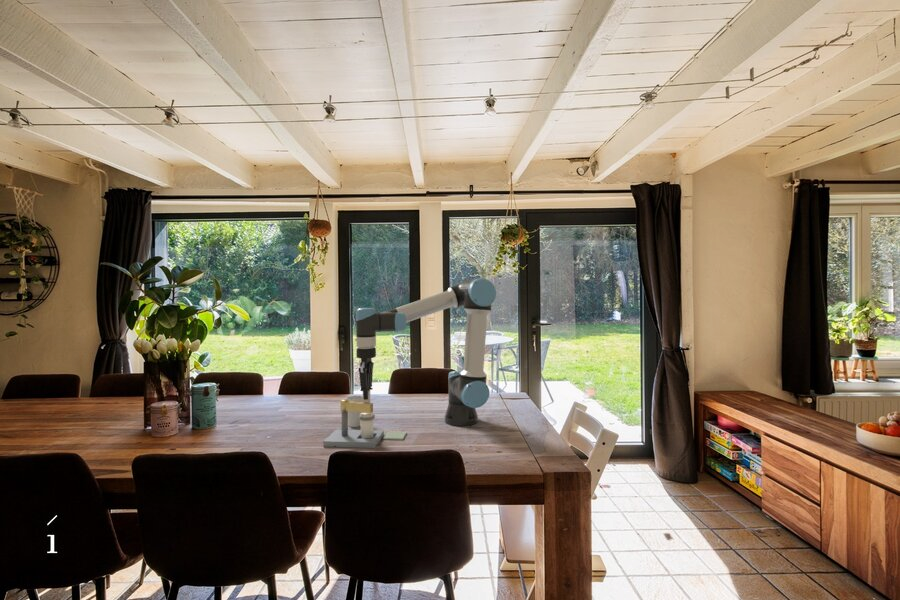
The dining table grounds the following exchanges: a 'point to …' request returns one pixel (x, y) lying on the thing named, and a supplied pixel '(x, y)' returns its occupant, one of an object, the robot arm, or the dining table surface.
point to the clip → (355, 406)
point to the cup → (354, 416)
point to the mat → (394, 435)
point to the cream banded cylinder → (367, 425)
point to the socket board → (351, 436)
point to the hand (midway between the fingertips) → (366, 406)
